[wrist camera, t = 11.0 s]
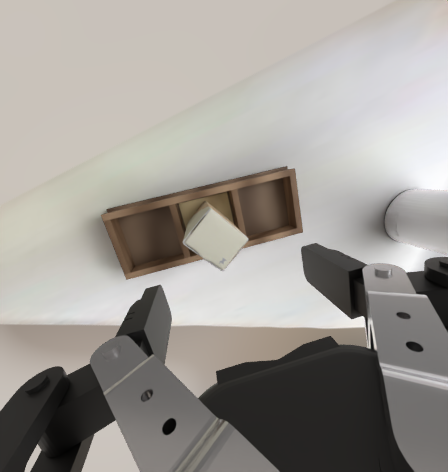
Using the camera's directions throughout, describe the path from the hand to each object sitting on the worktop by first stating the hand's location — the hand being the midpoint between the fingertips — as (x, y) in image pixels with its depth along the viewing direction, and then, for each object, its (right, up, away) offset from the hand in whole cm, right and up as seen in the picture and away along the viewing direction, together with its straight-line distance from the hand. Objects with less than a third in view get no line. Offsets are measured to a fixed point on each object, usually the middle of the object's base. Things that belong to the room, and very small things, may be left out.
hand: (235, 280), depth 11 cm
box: (-3, +5, +19) cm, 20 cm away
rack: (-3, +5, +20) cm, 21 cm away
